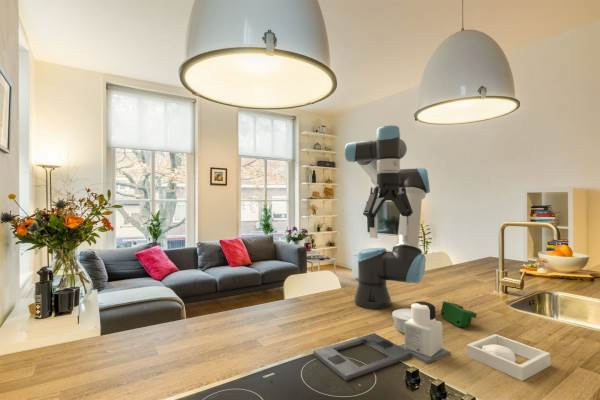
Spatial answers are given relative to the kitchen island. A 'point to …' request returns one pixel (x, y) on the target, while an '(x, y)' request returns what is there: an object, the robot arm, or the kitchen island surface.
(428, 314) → the container
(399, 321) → the ramekin
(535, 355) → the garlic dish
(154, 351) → the kitchen island surface
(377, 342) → the flat gray rectangular frame
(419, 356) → the plate
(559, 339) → the kitchen island surface
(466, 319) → the green angular block
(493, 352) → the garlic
